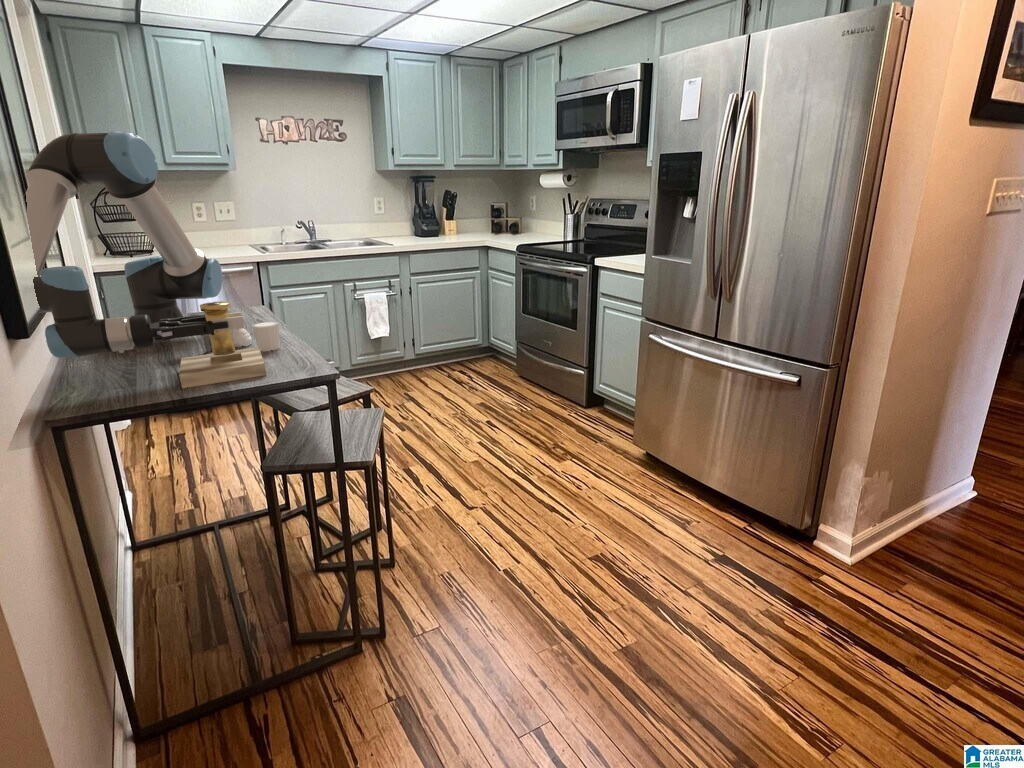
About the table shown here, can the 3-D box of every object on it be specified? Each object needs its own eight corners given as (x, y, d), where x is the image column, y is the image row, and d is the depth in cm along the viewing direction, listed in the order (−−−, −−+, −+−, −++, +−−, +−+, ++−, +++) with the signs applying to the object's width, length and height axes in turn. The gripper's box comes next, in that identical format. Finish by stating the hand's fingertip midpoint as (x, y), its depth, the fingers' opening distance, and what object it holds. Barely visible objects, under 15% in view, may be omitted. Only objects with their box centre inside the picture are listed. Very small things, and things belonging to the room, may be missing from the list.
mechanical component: (222, 353, 162) (215, 317, 158) (189, 352, 164) (181, 316, 160) (229, 350, 164) (222, 314, 161) (196, 349, 166) (189, 314, 163)
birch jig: (183, 369, 149) (181, 358, 148) (260, 358, 156) (258, 347, 155) (182, 388, 135) (179, 375, 134) (266, 375, 143) (264, 363, 142)
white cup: (284, 344, 169) (280, 320, 167) (280, 351, 162) (275, 326, 160) (259, 346, 168) (254, 321, 166) (253, 352, 161) (248, 327, 159)
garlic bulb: (235, 322, 171) (253, 322, 170) (239, 342, 173) (256, 342, 172) (224, 327, 166) (241, 327, 165) (228, 347, 168) (245, 348, 167)
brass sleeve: (209, 351, 147) (199, 303, 143) (238, 347, 149) (228, 299, 145) (210, 357, 141) (199, 307, 137) (239, 353, 144) (229, 304, 140)
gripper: (139, 340, 144) (243, 327, 154) (132, 358, 129) (247, 342, 139) (131, 309, 142) (237, 298, 151) (123, 324, 127) (242, 311, 136)
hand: (242, 319), depth 145 cm, fingers closed on brass sleeve, 5 cm apart
